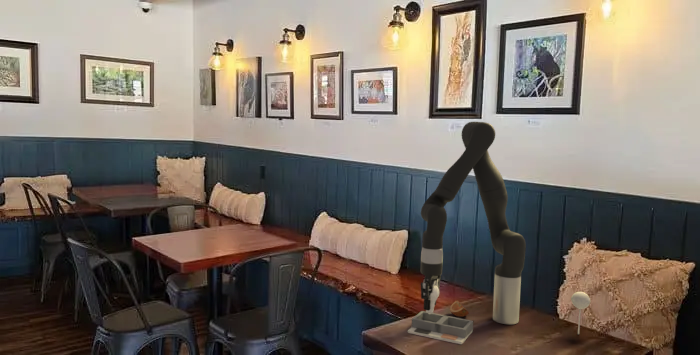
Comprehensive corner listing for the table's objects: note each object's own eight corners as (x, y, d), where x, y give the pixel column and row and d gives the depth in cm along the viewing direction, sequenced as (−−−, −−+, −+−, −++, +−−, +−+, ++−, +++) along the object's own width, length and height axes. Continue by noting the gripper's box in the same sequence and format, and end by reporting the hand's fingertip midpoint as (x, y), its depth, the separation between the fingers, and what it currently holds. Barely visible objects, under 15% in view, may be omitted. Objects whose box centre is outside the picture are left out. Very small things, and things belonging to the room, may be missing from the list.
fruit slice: (471, 320, 200) (472, 307, 200) (454, 320, 199) (454, 307, 199) (464, 312, 208) (464, 299, 208) (447, 312, 207) (447, 300, 207)
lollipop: (587, 332, 191) (590, 290, 189) (588, 338, 185) (591, 295, 183) (568, 329, 193) (571, 288, 191) (569, 335, 187) (572, 293, 185)
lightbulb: (438, 317, 188) (439, 286, 187) (420, 316, 189) (421, 285, 188) (438, 312, 194) (440, 281, 192) (421, 310, 195) (422, 280, 194)
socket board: (421, 320, 198) (421, 310, 198) (472, 331, 189) (473, 320, 189) (407, 332, 187) (408, 322, 186) (461, 344, 178) (462, 333, 177)
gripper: (435, 266, 181) (433, 315, 183) (448, 257, 194) (446, 303, 195) (414, 263, 185) (412, 311, 186) (428, 254, 197) (426, 299, 199)
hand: (429, 307), depth 191 cm, fingers closed on lightbulb, 5 cm apart
